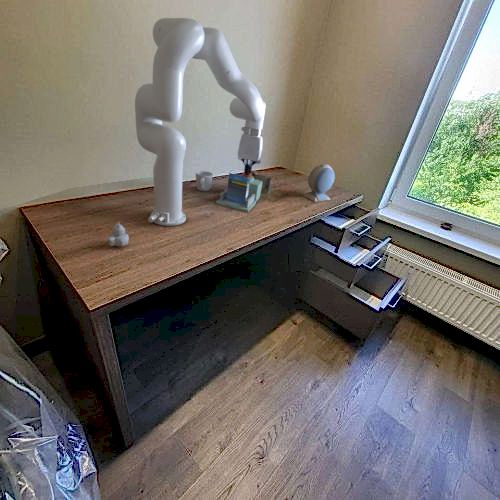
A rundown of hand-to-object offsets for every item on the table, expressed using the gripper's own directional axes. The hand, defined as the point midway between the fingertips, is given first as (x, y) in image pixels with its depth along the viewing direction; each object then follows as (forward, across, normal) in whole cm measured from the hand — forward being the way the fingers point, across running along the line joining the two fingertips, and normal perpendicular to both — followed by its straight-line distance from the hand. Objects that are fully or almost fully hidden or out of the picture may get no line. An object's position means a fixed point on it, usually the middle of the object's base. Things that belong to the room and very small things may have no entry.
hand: (247, 174), depth 129 cm
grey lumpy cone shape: (+11, -18, -65) cm, 69 cm away
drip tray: (+11, 0, -11) cm, 16 cm away
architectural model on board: (+11, +4, +14) cm, 18 cm away
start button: (+2, 0, 0) cm, 2 cm away
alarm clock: (+11, +33, +25) cm, 43 cm away
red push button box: (+11, 0, 0) cm, 11 cm away
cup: (+11, -19, -6) cm, 23 cm away
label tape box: (+10, 0, -11) cm, 15 cm away
